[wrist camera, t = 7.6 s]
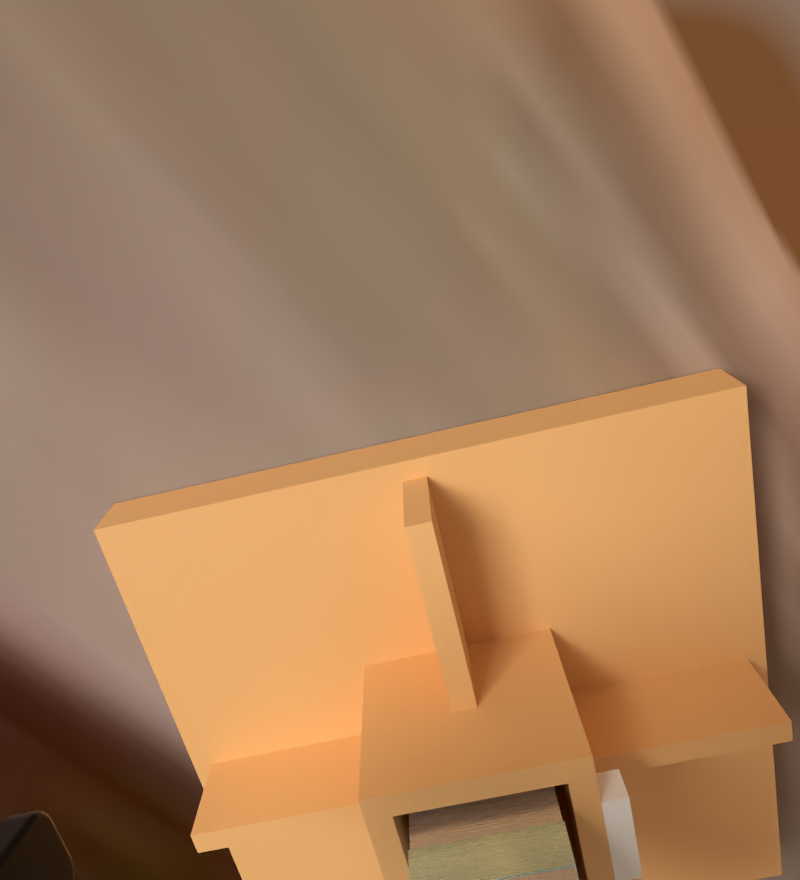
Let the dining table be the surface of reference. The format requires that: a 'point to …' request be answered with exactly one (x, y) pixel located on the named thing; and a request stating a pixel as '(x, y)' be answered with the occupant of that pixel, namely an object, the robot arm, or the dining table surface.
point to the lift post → (492, 840)
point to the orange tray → (475, 639)
